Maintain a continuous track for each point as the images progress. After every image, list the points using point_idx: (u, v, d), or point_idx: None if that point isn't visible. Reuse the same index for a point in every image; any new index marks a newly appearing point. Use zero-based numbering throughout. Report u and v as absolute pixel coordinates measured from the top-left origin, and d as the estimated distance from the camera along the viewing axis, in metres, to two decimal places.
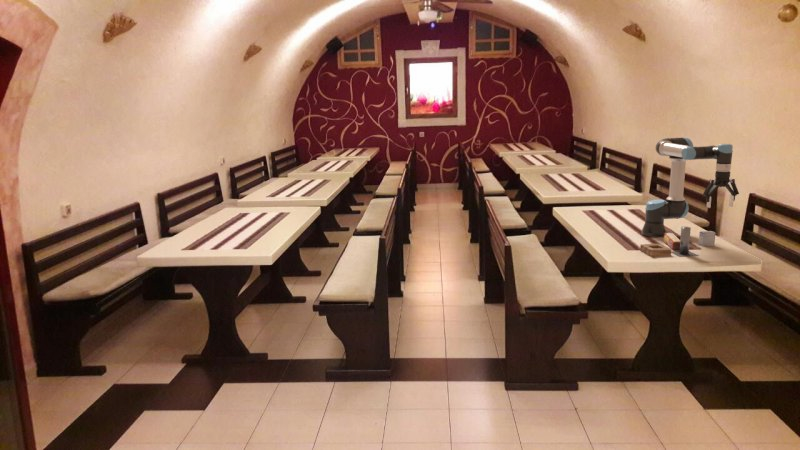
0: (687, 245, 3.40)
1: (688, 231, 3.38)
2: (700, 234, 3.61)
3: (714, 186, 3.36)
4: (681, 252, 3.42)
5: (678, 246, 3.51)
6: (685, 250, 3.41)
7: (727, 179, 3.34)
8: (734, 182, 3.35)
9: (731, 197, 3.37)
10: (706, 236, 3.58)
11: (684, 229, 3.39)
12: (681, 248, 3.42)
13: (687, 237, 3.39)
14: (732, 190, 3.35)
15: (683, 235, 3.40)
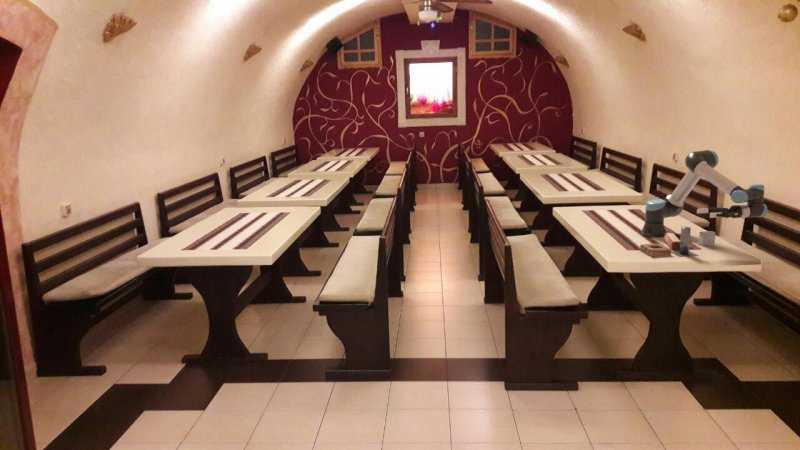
0: (687, 245, 3.40)
1: (688, 231, 3.38)
2: (700, 234, 3.61)
3: (728, 213, 3.35)
4: (681, 252, 3.42)
5: (677, 246, 3.51)
6: (685, 250, 3.41)
7: None
8: (720, 211, 3.47)
9: (706, 211, 3.46)
10: (707, 236, 3.58)
11: (684, 229, 3.39)
12: (681, 248, 3.42)
13: (687, 237, 3.39)
14: None
15: (683, 235, 3.40)
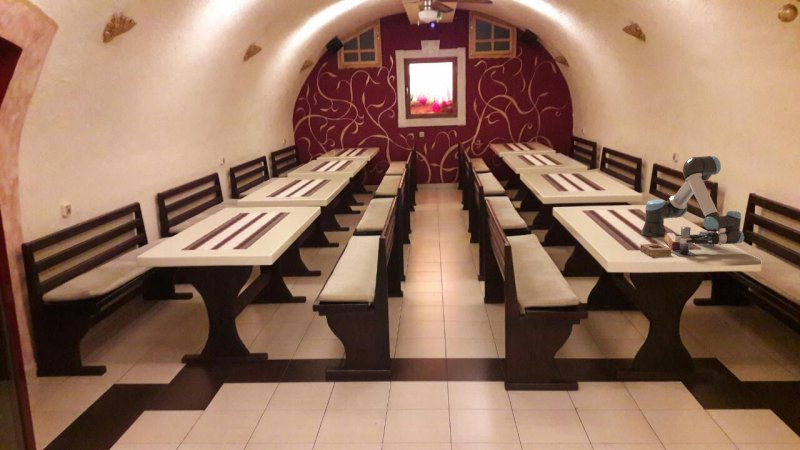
0: (687, 245, 3.40)
1: (688, 231, 3.38)
2: (700, 234, 3.61)
3: None
4: (681, 252, 3.42)
5: (677, 246, 3.51)
6: (685, 250, 3.41)
7: None
8: None
9: None
10: None
11: (684, 229, 3.39)
12: (681, 248, 3.42)
13: (687, 237, 3.39)
14: None
15: (683, 235, 3.40)
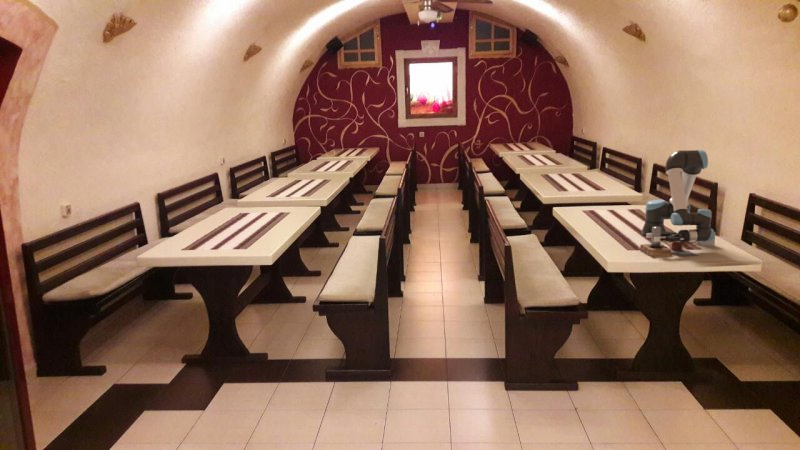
0: (658, 244, 3.44)
1: (659, 231, 3.43)
2: None
3: None
4: None
5: (677, 246, 3.51)
6: None
7: None
8: None
9: None
10: None
11: (655, 229, 3.43)
12: None
13: None
14: (662, 236, 3.51)
15: (654, 235, 3.44)
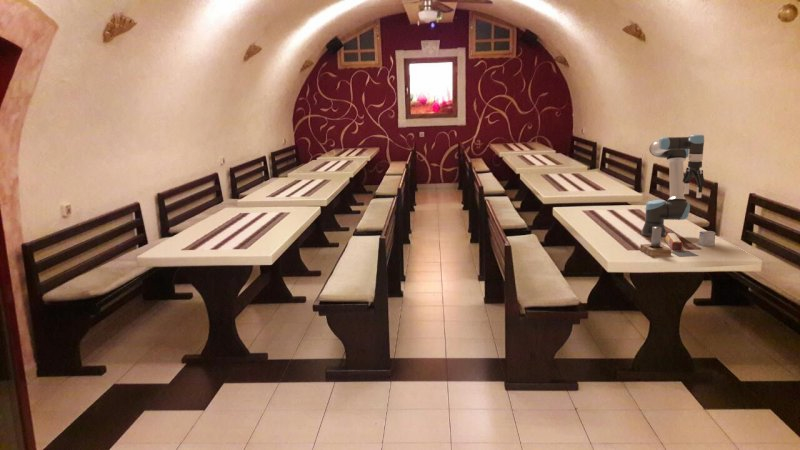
0: (658, 245, 3.44)
1: (659, 231, 3.42)
2: (700, 234, 3.61)
3: None
4: None
5: (678, 246, 3.50)
6: None
7: (695, 169, 3.44)
8: (698, 173, 3.40)
9: None
10: (707, 236, 3.58)
11: (655, 229, 3.43)
12: None
13: (658, 237, 3.43)
14: (697, 181, 3.42)
15: (654, 235, 3.44)
